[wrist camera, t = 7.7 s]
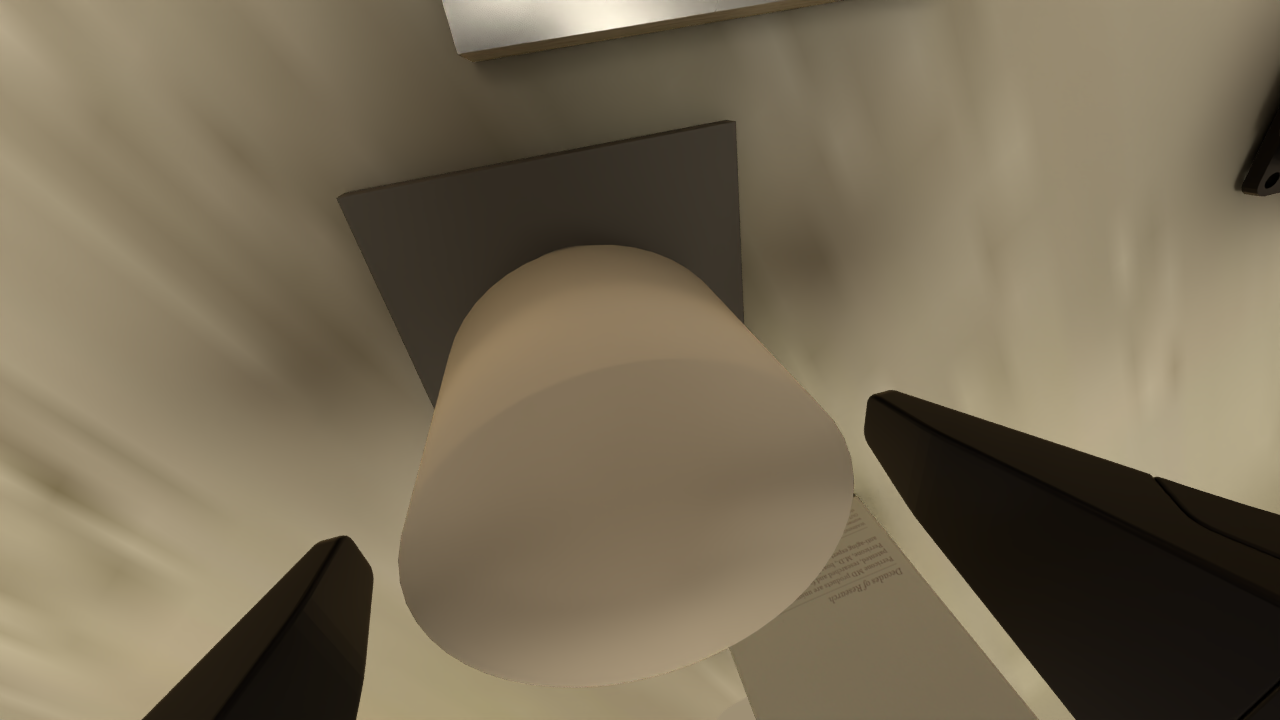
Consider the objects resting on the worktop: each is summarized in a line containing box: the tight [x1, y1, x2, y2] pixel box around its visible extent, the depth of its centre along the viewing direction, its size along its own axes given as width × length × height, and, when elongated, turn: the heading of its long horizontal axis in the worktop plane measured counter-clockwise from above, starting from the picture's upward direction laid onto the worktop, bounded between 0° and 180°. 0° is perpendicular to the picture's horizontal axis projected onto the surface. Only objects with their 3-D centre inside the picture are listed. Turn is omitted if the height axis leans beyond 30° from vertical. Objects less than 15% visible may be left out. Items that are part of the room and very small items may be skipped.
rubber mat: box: [337, 120, 744, 410], centre depth 13 cm, size 9×9×1 cm
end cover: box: [398, 245, 854, 688], centre depth 10 cm, size 6×6×7 cm
